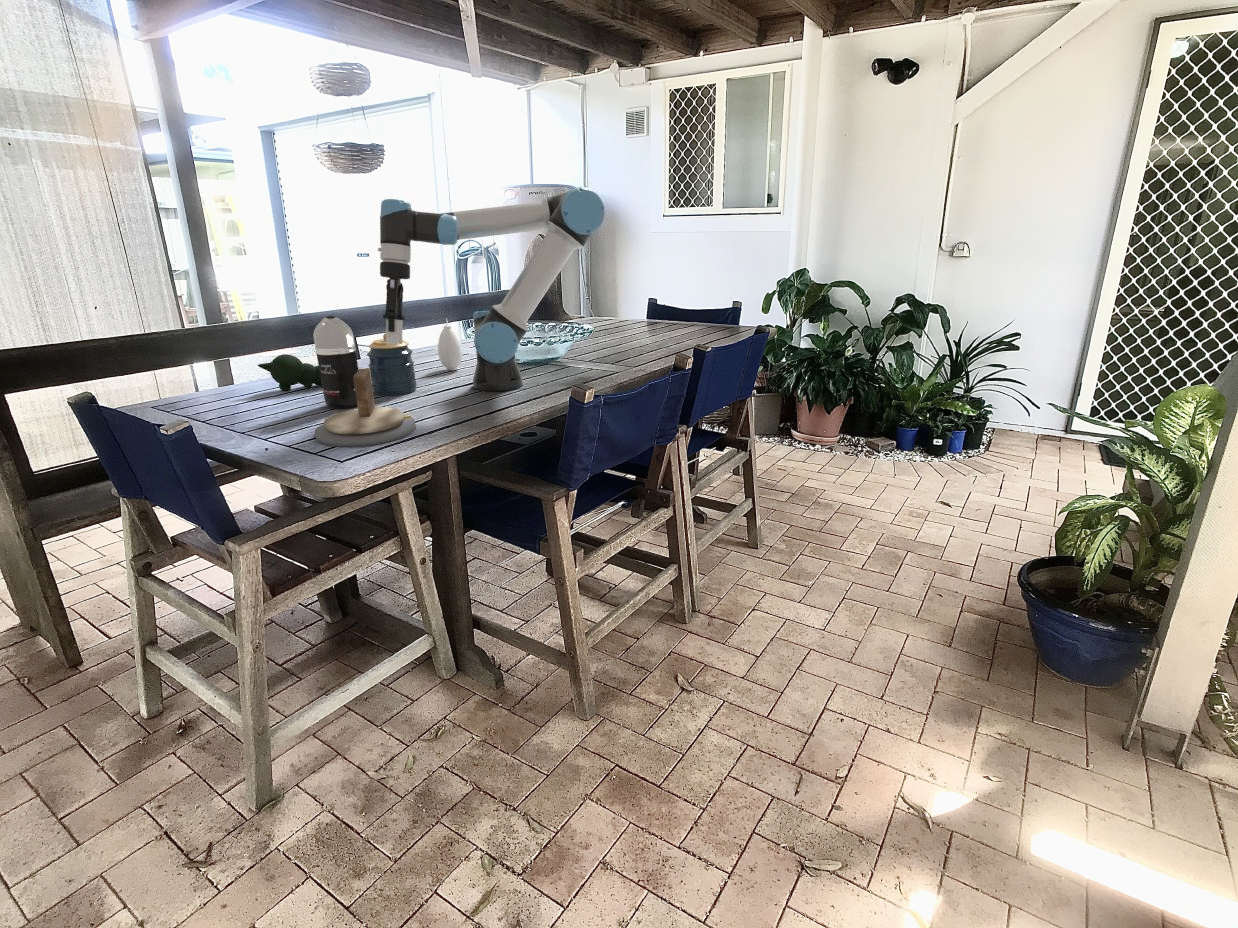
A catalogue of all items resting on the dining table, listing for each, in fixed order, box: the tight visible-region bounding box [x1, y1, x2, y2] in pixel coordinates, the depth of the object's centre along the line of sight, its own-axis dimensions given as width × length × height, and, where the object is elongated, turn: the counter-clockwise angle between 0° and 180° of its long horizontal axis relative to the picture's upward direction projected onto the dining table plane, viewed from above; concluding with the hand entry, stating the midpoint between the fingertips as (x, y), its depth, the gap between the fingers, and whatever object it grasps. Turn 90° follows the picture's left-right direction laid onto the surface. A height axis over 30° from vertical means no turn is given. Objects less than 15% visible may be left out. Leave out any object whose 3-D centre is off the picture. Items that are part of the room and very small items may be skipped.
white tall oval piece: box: [437, 317, 463, 372], centre depth 221 cm, size 8×8×18 cm
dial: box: [323, 368, 405, 434], centre depth 155 cm, size 18×18×12 cm
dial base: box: [314, 414, 417, 448], centre depth 157 cm, size 23×23×2 cm
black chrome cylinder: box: [312, 314, 359, 410], centre depth 177 cm, size 10×10×25 cm
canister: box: [366, 332, 417, 396], centre depth 194 cm, size 13×13×18 cm
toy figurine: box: [257, 353, 322, 393], centre depth 199 cm, size 9×19×25 cm
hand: (394, 344), depth 174 cm, fingers open, 13 cm apart
